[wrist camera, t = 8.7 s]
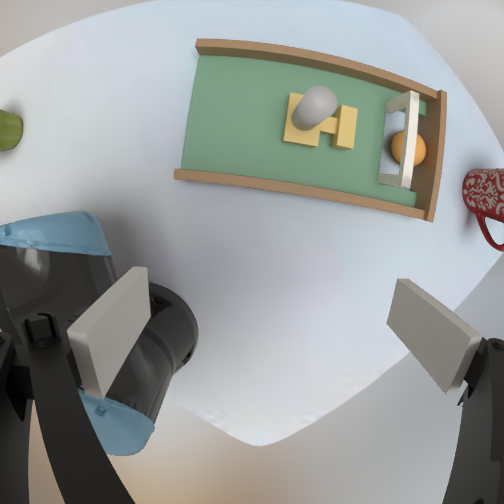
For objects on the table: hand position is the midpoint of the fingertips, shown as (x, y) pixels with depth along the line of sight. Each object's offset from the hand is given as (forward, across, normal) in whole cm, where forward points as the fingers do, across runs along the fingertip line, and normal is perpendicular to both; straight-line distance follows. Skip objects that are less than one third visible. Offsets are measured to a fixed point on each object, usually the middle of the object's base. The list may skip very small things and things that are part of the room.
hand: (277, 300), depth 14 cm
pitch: (+25, +7, +13) cm, 29 cm away
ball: (+22, +19, +12) cm, 31 cm away
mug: (+24, +35, +7) cm, 43 cm away
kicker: (+22, +7, +13) cm, 27 cm away
